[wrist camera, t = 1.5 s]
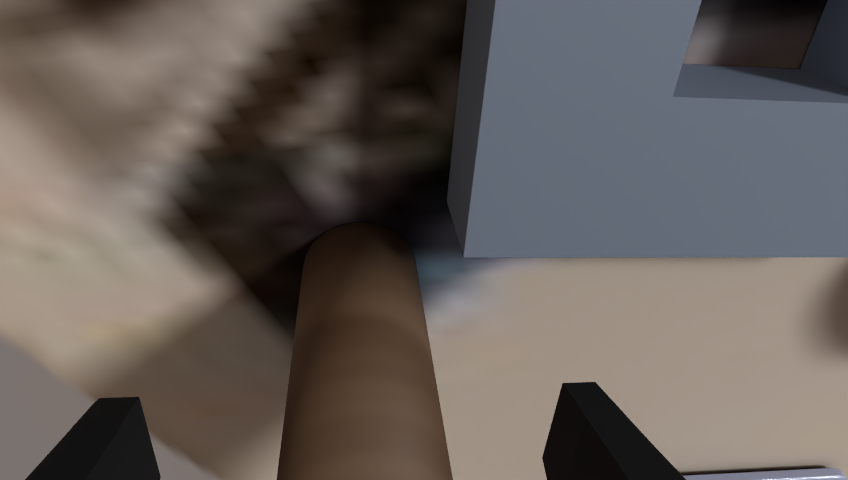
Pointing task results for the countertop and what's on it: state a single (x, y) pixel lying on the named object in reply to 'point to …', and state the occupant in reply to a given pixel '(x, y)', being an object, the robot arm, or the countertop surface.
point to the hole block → (643, 137)
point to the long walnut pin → (362, 366)
